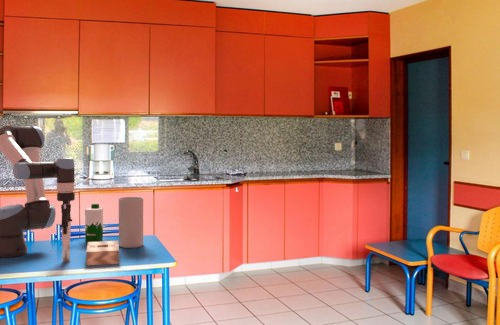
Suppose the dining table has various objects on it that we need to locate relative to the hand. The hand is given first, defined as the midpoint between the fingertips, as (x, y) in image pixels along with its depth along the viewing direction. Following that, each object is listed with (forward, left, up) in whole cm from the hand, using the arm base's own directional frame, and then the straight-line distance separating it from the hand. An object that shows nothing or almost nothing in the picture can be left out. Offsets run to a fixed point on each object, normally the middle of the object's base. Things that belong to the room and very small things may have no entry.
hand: (66, 238), depth 228 cm
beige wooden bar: (0, 0, -11) cm, 11 cm away
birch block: (+16, +2, -11) cm, 19 cm away
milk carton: (+11, +44, -11) cm, 47 cm away
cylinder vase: (+30, +28, -11) cm, 43 cm away
